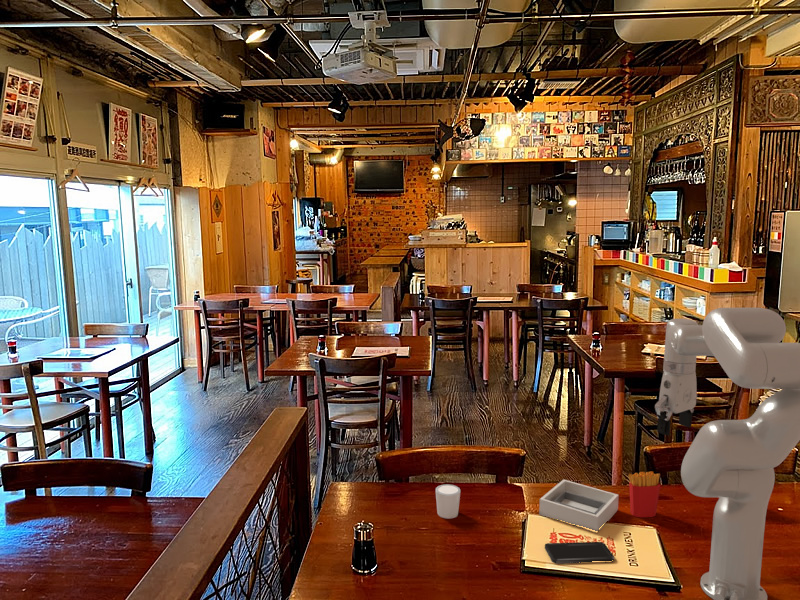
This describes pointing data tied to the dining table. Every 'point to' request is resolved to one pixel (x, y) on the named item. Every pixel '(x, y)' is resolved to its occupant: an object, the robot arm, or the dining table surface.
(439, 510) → the shot glass
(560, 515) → the walled box
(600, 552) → the phone
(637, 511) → the french fries
